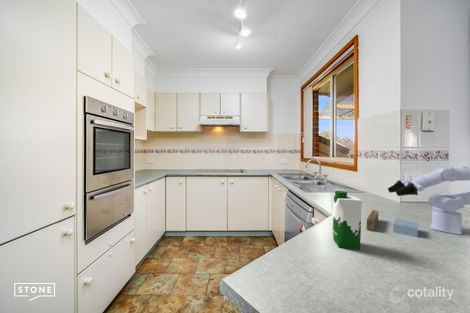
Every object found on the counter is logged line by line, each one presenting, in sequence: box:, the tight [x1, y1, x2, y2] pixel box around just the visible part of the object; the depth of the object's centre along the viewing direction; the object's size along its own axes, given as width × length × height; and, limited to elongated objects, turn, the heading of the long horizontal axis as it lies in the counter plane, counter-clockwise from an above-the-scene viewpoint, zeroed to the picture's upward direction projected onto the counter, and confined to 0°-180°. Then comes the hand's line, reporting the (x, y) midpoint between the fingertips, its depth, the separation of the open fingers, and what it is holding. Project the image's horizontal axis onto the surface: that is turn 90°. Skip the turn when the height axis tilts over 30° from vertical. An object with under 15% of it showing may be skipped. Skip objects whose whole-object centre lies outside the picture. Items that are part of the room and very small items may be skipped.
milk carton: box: [332, 190, 363, 251], centre depth 77 cm, size 9×9×20 cm
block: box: [392, 218, 419, 238], centre depth 91 cm, size 8×10×4 cm
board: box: [366, 209, 379, 232], centre depth 99 cm, size 2×20×5 cm, turn 140°
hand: (392, 192), depth 99 cm, fingers open, 7 cm apart
